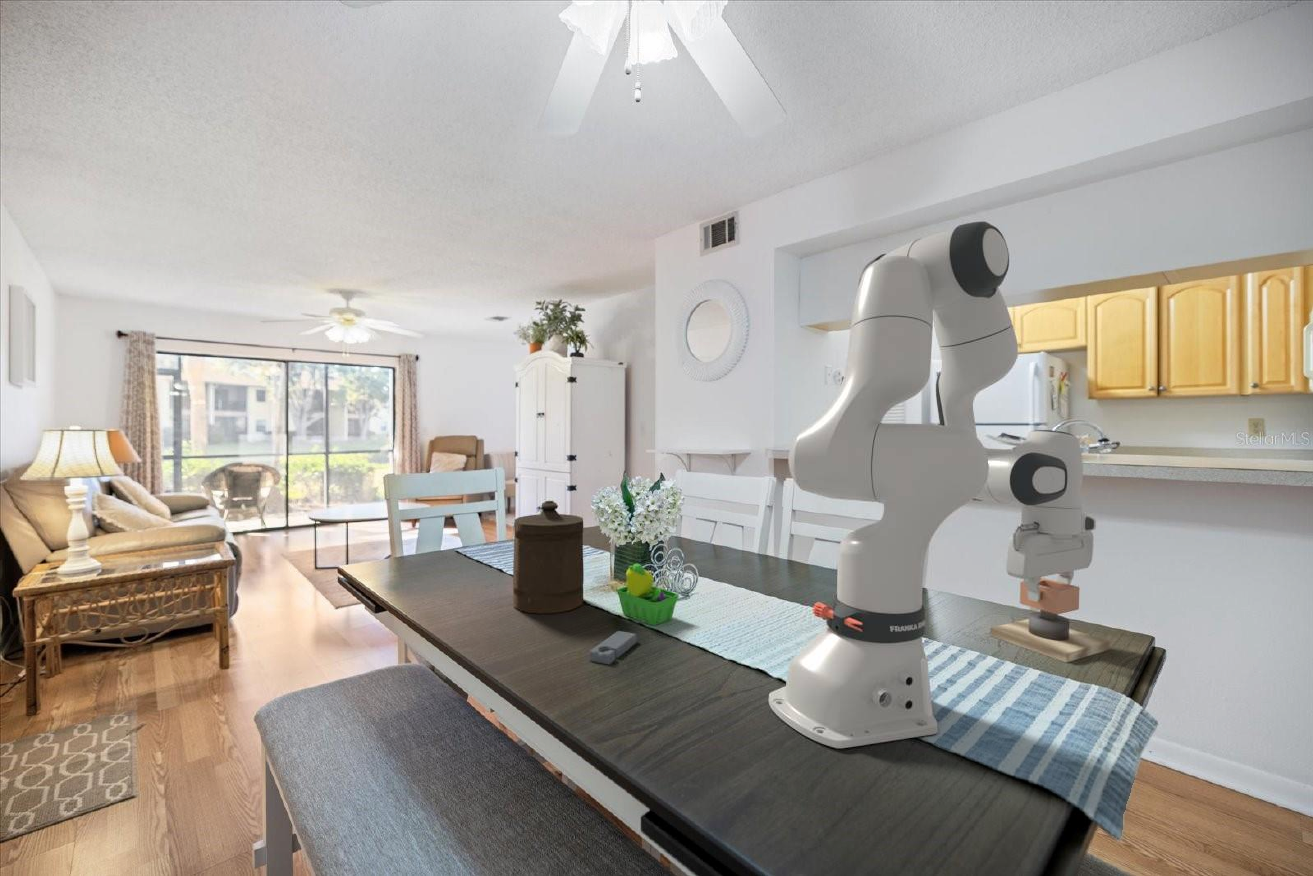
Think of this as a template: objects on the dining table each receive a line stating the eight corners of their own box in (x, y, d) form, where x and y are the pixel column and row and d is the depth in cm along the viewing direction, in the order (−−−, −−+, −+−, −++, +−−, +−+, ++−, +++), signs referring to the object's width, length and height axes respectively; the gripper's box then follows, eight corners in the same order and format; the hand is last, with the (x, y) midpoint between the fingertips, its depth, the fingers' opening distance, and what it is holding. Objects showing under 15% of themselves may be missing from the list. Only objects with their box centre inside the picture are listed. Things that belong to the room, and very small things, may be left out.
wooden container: (575, 590, 132) (575, 495, 131) (590, 610, 118) (591, 504, 118) (509, 596, 127) (509, 498, 126) (517, 618, 113) (517, 507, 112)
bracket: (637, 644, 101) (637, 633, 101) (609, 667, 91) (609, 655, 91) (617, 641, 103) (617, 630, 102) (588, 663, 93) (588, 651, 93)
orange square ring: (1057, 614, 98) (1058, 591, 98) (1019, 603, 104) (1020, 581, 104) (1078, 609, 101) (1079, 587, 101) (1041, 599, 107) (1041, 577, 107)
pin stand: (1066, 662, 94) (1067, 605, 93) (990, 635, 105) (991, 584, 105) (1109, 649, 99) (1111, 595, 99) (1033, 625, 111) (1034, 577, 111)
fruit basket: (680, 619, 113) (681, 563, 112) (648, 630, 107) (648, 570, 106) (641, 606, 121) (642, 553, 121) (609, 615, 115) (609, 560, 114)
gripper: (1033, 528, 95) (1031, 610, 95) (1101, 519, 104) (1099, 595, 104) (996, 522, 100) (994, 600, 101) (1064, 514, 109) (1062, 586, 110)
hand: (1048, 597), depth 102 cm, fingers closed on orange square ring, 6 cm apart
